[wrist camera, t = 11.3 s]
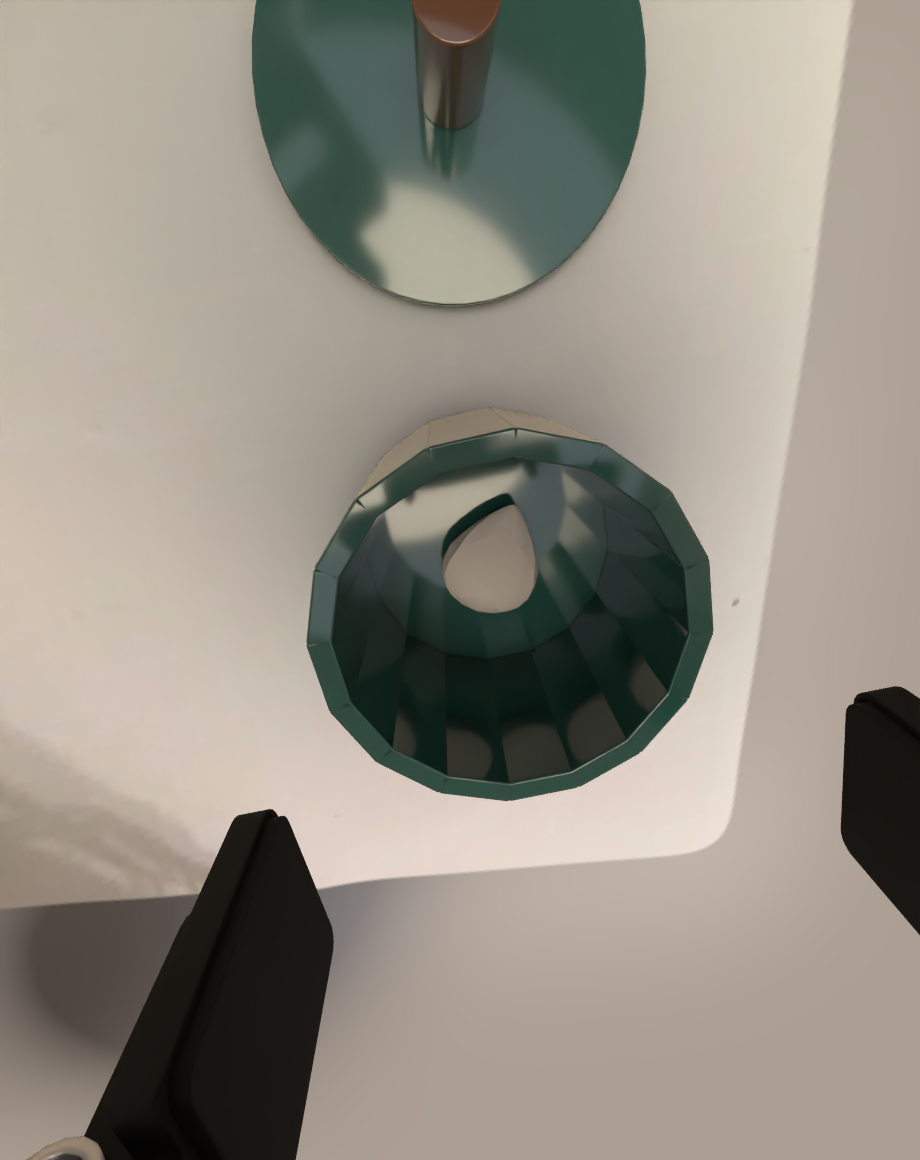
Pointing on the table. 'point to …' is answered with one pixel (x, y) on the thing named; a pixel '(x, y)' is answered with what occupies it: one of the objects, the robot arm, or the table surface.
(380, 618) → the canister
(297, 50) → the lid
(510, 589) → the beige teardrop wedge
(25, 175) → the table surface
